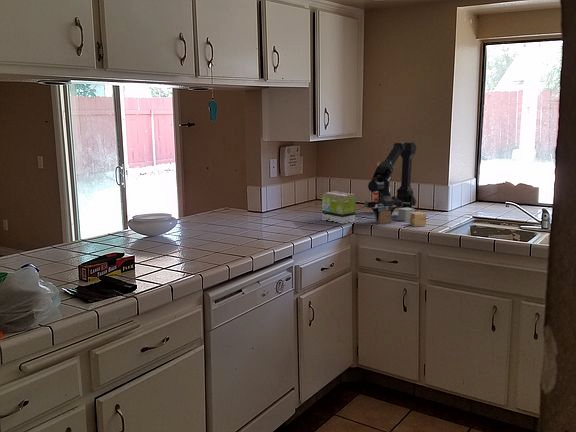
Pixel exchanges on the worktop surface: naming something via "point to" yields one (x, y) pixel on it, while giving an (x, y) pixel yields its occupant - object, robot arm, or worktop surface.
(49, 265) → the worktop surface
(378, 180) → the robot arm
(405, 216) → the grey block
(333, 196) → the tea box
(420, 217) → the oak block
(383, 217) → the walnut block
